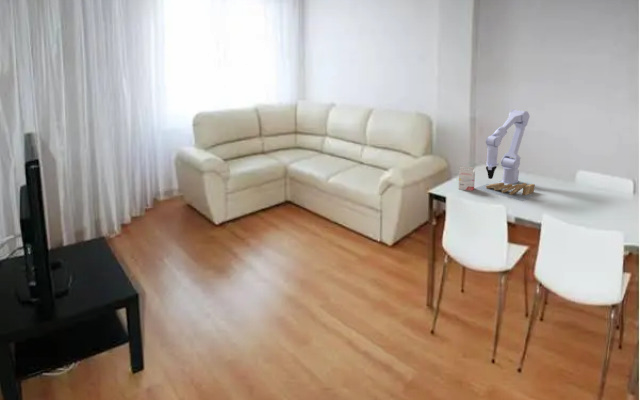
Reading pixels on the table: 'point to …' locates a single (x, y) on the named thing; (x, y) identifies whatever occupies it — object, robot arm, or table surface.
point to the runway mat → (506, 193)
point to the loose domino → (528, 189)
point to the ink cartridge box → (466, 178)
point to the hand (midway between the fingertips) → (490, 178)
